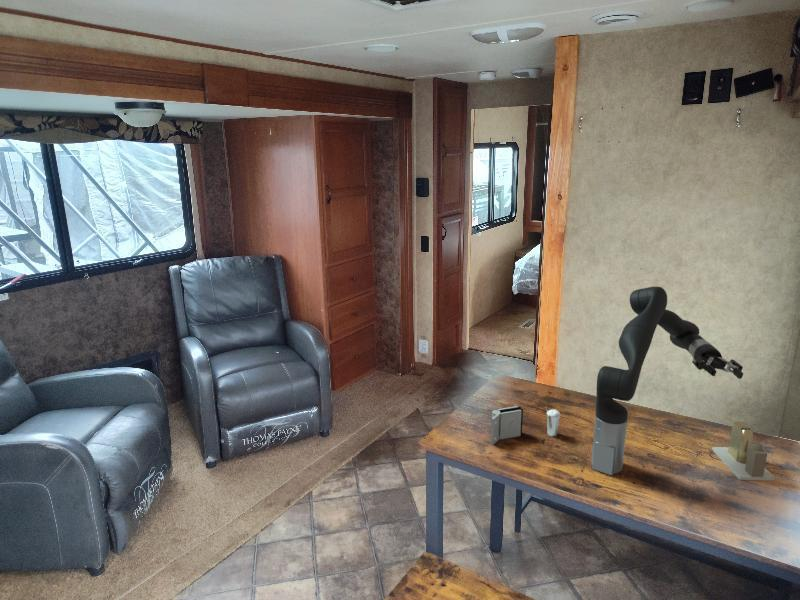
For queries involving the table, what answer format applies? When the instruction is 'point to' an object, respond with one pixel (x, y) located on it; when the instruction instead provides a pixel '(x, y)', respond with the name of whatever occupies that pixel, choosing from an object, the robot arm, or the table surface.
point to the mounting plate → (739, 466)
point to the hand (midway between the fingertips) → (727, 374)
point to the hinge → (506, 423)
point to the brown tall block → (740, 441)
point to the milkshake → (552, 422)
